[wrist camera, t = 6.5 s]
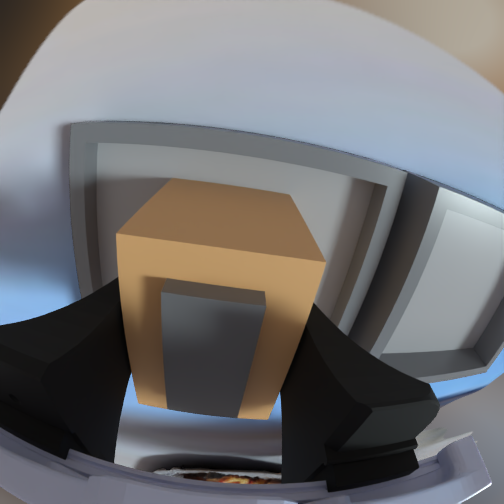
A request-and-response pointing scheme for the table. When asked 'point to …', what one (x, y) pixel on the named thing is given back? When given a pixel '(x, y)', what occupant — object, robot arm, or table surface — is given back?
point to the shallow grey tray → (237, 174)
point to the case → (437, 286)
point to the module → (215, 296)
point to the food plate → (223, 475)
